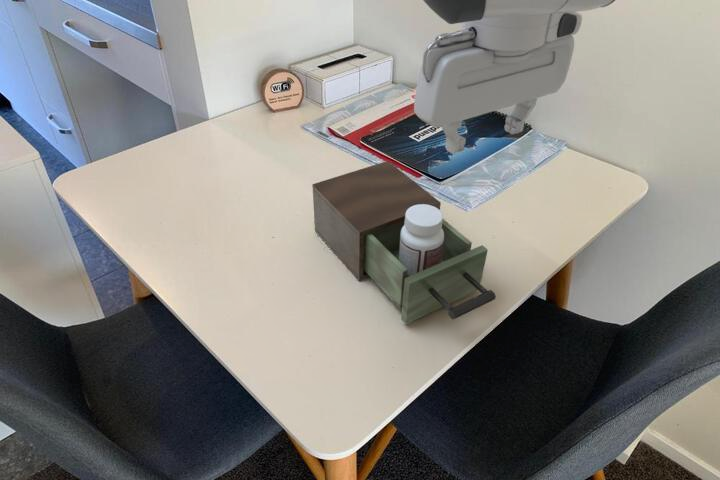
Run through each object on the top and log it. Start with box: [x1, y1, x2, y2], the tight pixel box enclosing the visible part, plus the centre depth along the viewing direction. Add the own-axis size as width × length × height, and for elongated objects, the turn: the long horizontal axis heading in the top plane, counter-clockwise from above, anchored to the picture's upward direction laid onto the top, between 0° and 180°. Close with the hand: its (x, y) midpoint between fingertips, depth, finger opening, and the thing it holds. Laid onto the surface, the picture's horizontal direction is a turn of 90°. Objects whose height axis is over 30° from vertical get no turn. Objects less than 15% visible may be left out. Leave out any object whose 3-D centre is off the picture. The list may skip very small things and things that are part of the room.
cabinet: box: [311, 160, 442, 282], centre depth 85 cm, size 15×15×10 cm
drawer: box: [364, 218, 497, 325], centre depth 75 cm, size 19×13×8 cm
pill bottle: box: [399, 204, 444, 277], centre depth 75 cm, size 6×6×11 cm
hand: (484, 141), depth 63 cm, fingers open, 8 cm apart
